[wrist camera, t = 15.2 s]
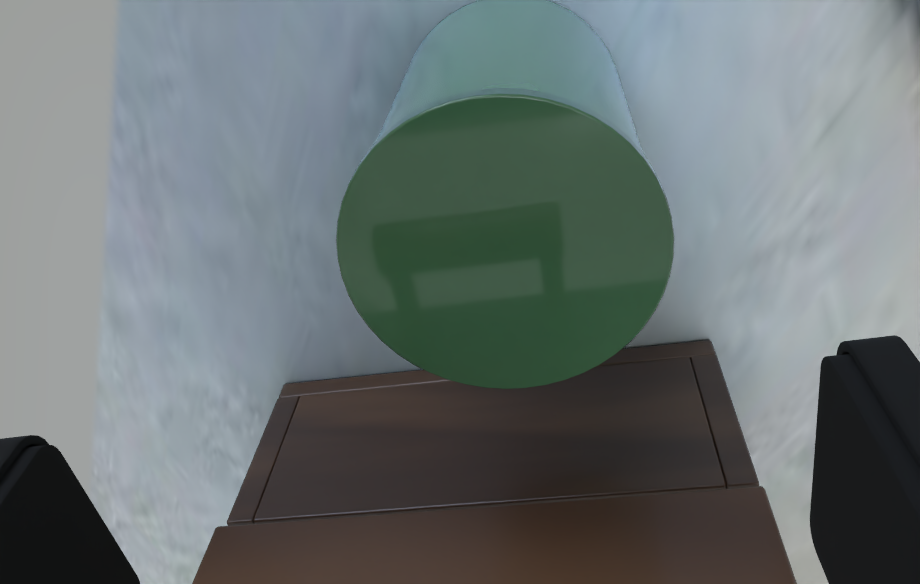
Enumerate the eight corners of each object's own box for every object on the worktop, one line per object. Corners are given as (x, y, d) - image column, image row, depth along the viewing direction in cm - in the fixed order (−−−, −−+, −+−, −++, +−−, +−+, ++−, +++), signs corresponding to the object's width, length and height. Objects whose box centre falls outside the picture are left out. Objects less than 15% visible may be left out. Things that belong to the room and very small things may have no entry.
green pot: (374, 10, 21) (294, 124, 14) (617, -33, 20) (666, 66, 13) (423, 222, 24) (379, 403, 17) (634, 195, 23) (681, 374, 16)
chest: (717, 589, 32) (755, 749, 27) (370, 609, 34) (341, 758, 29) (711, 338, 25) (759, 482, 20) (283, 383, 28) (225, 522, 22)
